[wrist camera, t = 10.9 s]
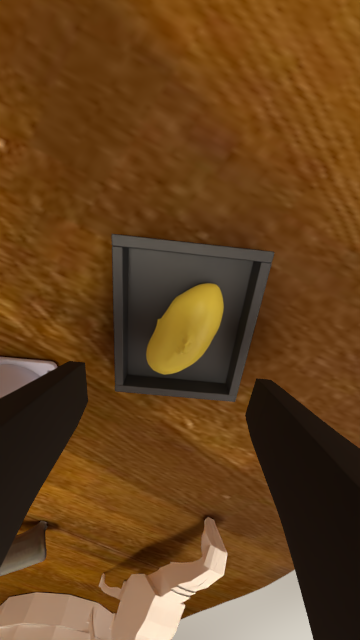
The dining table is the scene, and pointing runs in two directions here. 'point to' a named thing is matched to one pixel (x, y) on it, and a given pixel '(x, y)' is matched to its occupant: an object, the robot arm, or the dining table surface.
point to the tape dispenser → (26, 549)
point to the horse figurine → (163, 593)
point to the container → (52, 618)
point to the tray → (158, 293)
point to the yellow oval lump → (185, 329)
